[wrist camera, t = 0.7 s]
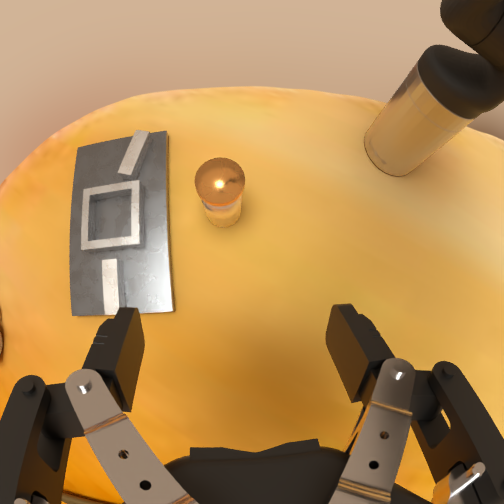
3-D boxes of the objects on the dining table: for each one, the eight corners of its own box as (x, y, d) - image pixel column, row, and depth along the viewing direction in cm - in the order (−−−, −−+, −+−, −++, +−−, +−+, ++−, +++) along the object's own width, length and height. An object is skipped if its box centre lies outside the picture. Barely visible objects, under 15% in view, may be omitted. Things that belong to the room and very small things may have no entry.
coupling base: (81, 152, 39) (72, 141, 35) (168, 136, 40) (163, 123, 36) (77, 315, 35) (64, 316, 31) (175, 310, 36) (169, 311, 32)
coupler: (231, 186, 39) (230, 150, 29) (249, 218, 38) (253, 189, 28) (198, 203, 38) (186, 171, 28) (215, 235, 38) (208, 212, 28)
